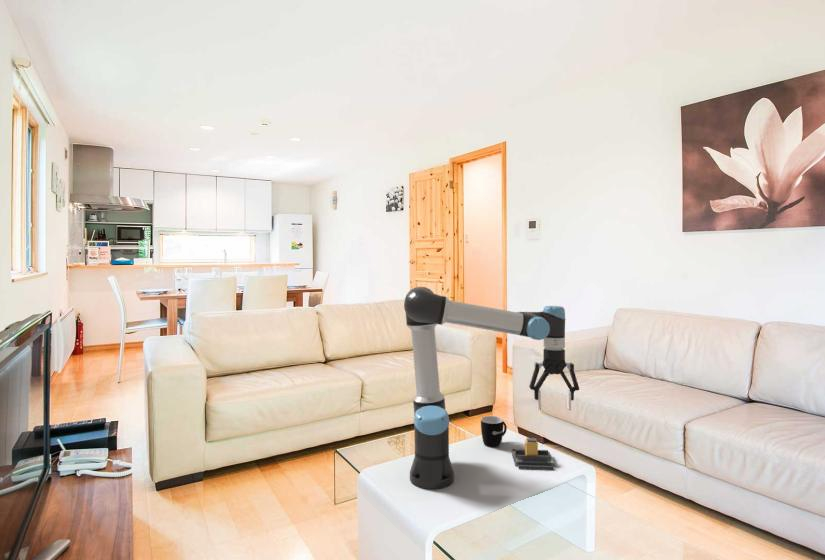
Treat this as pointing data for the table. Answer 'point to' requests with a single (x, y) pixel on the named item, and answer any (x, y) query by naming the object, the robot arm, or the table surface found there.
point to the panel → (533, 458)
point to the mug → (492, 430)
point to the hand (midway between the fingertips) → (553, 408)
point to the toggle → (531, 446)
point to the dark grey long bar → (536, 467)
